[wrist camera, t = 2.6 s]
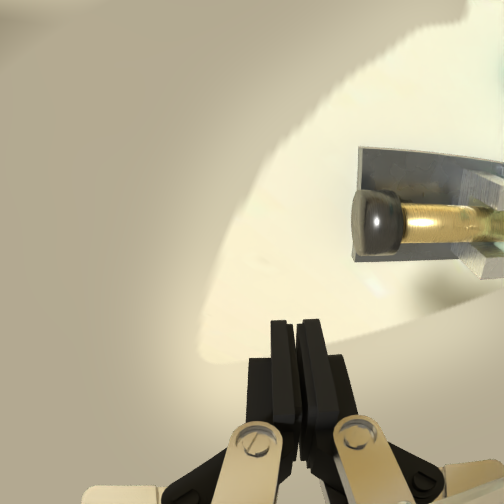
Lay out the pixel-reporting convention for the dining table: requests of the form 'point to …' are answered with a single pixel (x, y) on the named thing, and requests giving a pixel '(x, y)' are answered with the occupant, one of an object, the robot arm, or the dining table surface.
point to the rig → (437, 199)
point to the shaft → (417, 223)
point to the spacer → (500, 245)
